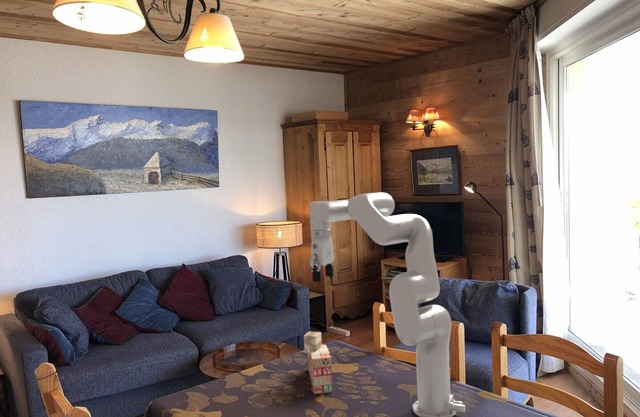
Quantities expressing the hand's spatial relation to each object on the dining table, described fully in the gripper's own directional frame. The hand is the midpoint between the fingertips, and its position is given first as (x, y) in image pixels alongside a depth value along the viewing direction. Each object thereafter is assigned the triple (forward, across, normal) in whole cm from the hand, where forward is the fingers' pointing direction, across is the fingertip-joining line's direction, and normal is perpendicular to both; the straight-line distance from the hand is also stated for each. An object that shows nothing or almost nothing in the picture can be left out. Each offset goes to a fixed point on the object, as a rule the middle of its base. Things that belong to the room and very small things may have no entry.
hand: (323, 279), depth 190 cm
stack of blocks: (+33, -16, -5) cm, 37 cm away
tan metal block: (+20, -18, -4) cm, 27 cm away
